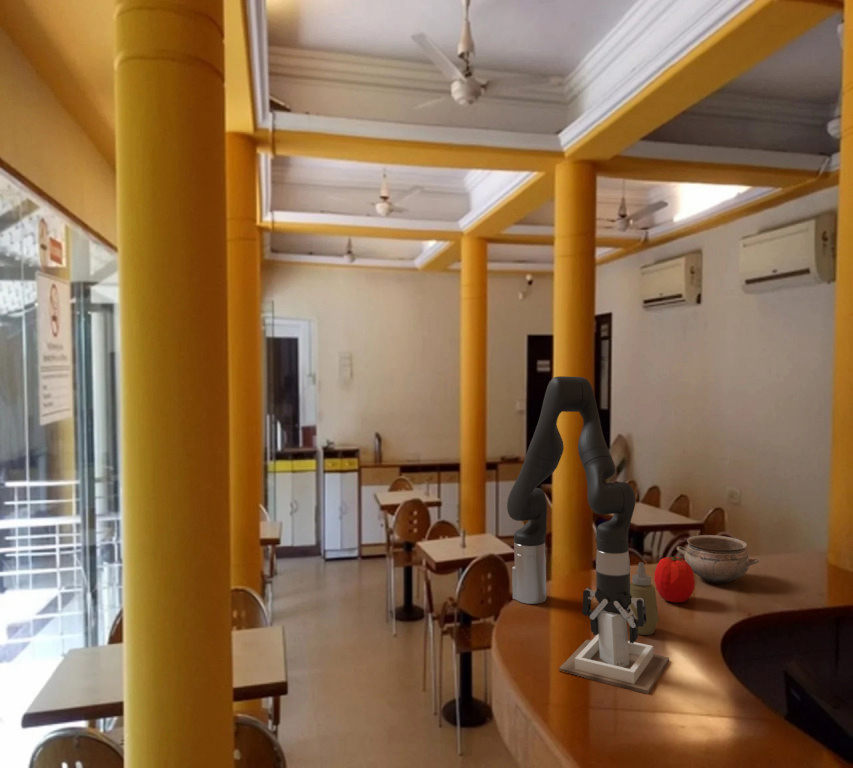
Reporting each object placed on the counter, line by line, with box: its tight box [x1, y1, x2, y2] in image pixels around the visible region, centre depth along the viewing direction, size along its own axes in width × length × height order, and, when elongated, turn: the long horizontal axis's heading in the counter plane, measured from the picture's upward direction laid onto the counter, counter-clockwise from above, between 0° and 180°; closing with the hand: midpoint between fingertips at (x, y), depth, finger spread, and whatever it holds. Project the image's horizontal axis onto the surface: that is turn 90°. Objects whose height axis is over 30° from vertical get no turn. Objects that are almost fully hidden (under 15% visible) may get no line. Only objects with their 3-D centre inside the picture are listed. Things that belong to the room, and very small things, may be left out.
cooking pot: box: [676, 534, 760, 585], centre depth 207 cm, size 25×19×12 cm
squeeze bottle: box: [628, 561, 660, 636], centre depth 169 cm, size 8×8×18 cm
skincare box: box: [598, 609, 629, 667], centre depth 151 cm, size 6×4×12 cm
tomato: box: [653, 555, 696, 603], centre depth 190 cm, size 12×12×13 cm
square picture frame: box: [575, 633, 654, 684], centre depth 150 cm, size 13×15×2 cm
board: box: [558, 639, 670, 695], centre depth 150 cm, size 20×18×1 cm
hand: (614, 638), depth 150 cm, fingers open, 8 cm apart
